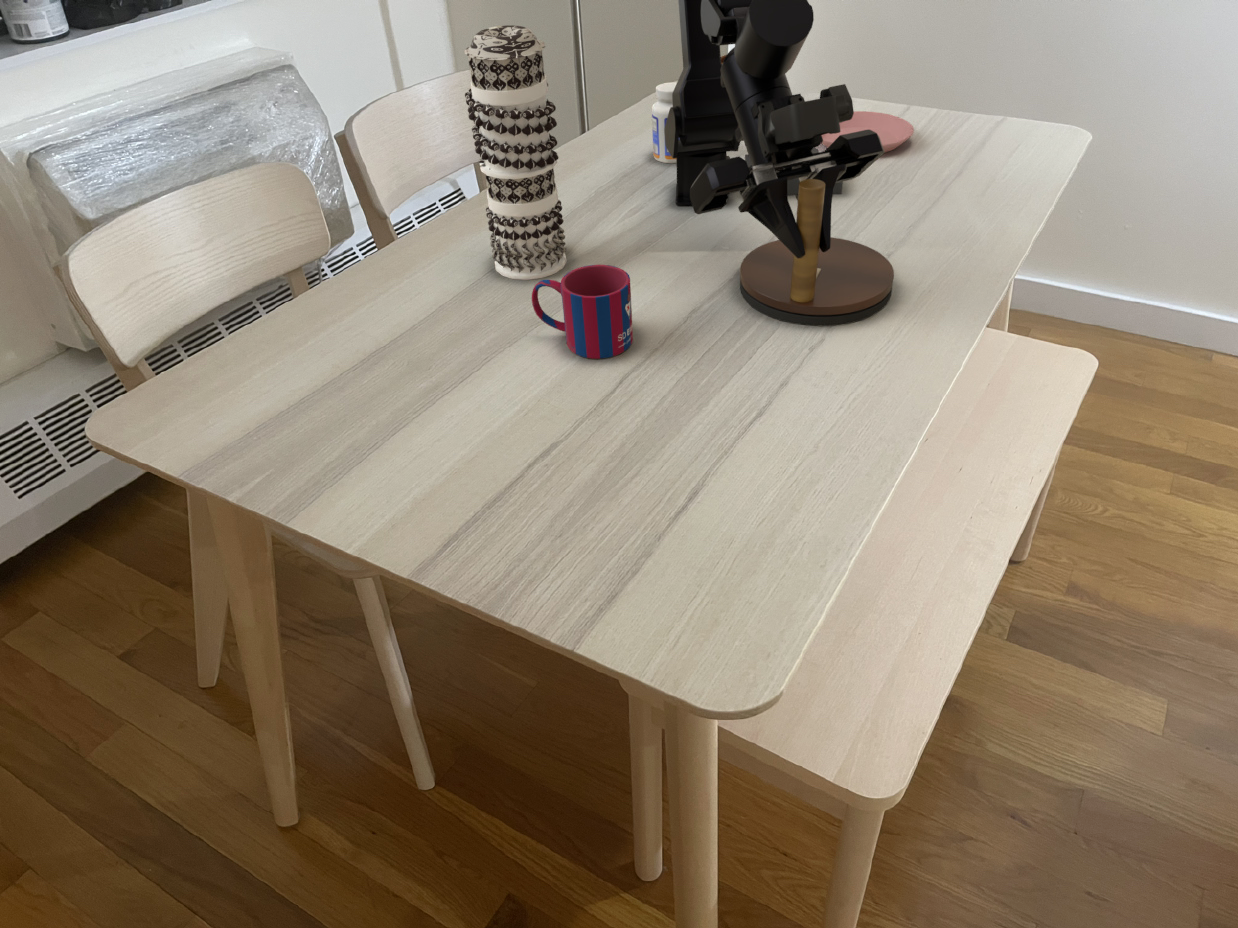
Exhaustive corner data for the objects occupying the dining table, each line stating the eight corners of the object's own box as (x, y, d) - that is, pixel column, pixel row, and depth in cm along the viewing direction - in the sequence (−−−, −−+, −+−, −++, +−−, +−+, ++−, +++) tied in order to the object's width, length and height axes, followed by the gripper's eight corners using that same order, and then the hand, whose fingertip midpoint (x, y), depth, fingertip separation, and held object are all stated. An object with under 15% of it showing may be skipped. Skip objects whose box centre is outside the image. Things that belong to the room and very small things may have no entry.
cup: (618, 364, 86) (614, 301, 82) (526, 348, 89) (517, 287, 85) (642, 329, 91) (640, 268, 87) (554, 315, 94) (547, 256, 90)
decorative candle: (482, 254, 106) (446, 27, 90) (555, 239, 108) (533, 15, 92) (502, 288, 99) (467, 49, 83) (580, 270, 102) (560, 35, 86)
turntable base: (743, 326, 90) (743, 318, 90) (736, 255, 103) (737, 247, 102) (903, 325, 89) (905, 316, 88) (878, 252, 101) (879, 244, 101)
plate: (790, 147, 128) (791, 133, 126) (841, 118, 136) (842, 104, 134) (881, 167, 120) (883, 153, 119) (929, 136, 128) (931, 122, 127)
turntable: (762, 236, 103) (768, 124, 95) (904, 254, 98) (923, 138, 90) (721, 301, 92) (724, 181, 84) (878, 326, 87) (897, 200, 79)
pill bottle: (697, 153, 128) (698, 82, 121) (679, 166, 124) (678, 94, 118) (665, 147, 130) (663, 78, 124) (646, 160, 127) (643, 89, 120)
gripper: (704, 72, 76) (761, 242, 75) (887, 39, 81) (943, 198, 80) (667, 136, 87) (716, 286, 86) (830, 104, 92) (879, 245, 91)
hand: (814, 253), depth 86 cm, fingers closed on turntable, 2 cm apart
